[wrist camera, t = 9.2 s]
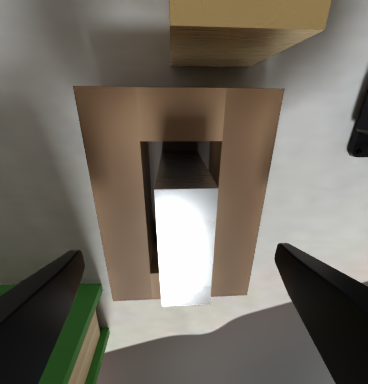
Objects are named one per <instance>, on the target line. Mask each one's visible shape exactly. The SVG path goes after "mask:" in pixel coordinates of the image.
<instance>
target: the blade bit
mask: <svg viewBox="0 0 368 384" xmlns="http://www.w3.org/2000/svg"><path fill="white" fill-rule="evenodd" d="M154 195H155V211H156V227H157V243H158V259H159V275H160V291H161V306H162V307H169V306H188V305H208V304H210V297H211V283H212V270H213V256H214V242H215V229H216V215H217V201H218V187H217V185H216V183H215V181H214V179H213V178H212V176H211V174H210V172H209V171H208V169H207V167H206V165H205V163H204V162H203V160H202V158H201V156H200V155H199V153H198V151H162V154H161V159H160V164H159V168H158V173H157V178H156V183H155V188H154Z"/></svg>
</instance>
